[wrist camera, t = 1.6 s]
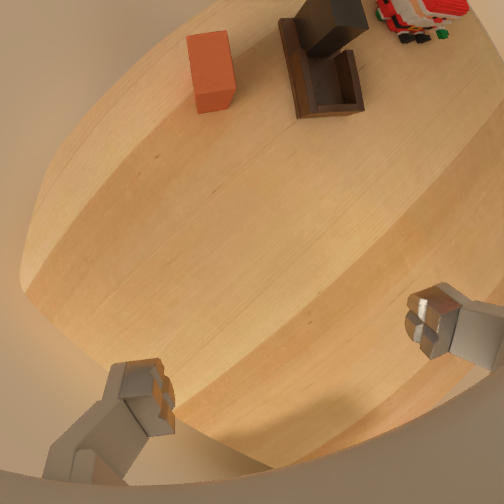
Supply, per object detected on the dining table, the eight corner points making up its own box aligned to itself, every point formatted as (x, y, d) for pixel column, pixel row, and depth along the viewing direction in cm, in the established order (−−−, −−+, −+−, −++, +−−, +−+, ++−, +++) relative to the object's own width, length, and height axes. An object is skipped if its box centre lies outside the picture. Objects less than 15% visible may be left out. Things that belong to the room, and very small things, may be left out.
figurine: (387, 44, 28) (450, 14, 16) (366, -3, 26) (419, -44, 14) (433, 43, 28) (495, 23, 17) (414, 0, 26) (469, -29, 15)
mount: (296, 119, 29) (335, 103, 20) (277, 21, 26) (305, -23, 16) (348, 115, 30) (400, 102, 20) (328, 22, 26) (369, -15, 17)
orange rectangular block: (198, 114, 28) (195, 95, 19) (190, 69, 26) (185, 35, 18) (228, 109, 28) (236, 88, 20) (220, 64, 27) (226, 29, 18)
